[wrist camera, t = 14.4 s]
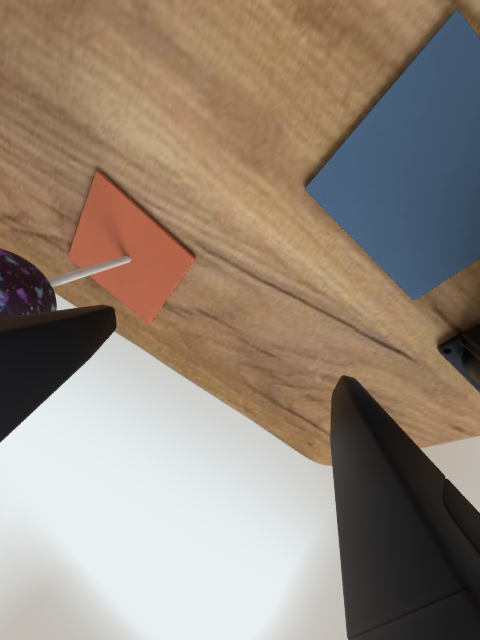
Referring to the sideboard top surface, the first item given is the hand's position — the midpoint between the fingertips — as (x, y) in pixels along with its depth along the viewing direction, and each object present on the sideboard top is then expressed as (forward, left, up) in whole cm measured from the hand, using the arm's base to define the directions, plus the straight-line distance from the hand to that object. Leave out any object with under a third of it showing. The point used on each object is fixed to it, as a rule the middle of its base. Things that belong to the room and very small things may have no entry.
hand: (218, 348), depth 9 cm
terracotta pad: (+11, +9, -13) cm, 19 cm away
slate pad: (-4, -11, -13) cm, 18 cm away
